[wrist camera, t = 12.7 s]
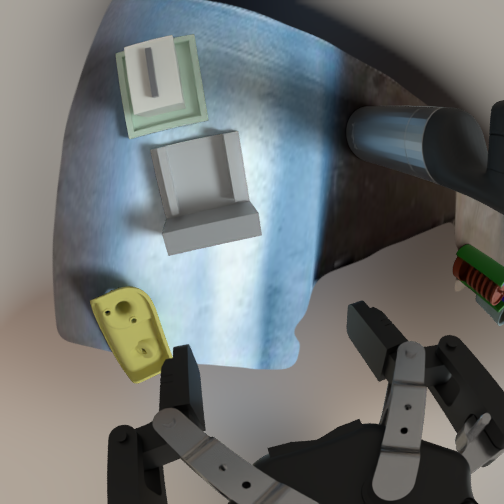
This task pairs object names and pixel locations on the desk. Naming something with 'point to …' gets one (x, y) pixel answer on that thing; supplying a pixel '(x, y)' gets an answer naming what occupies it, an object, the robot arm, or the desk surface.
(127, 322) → the plastic component
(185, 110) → the tray
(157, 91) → the labeled white box
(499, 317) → the pale teal cup
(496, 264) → the motor
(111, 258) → the desk surface
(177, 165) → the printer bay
